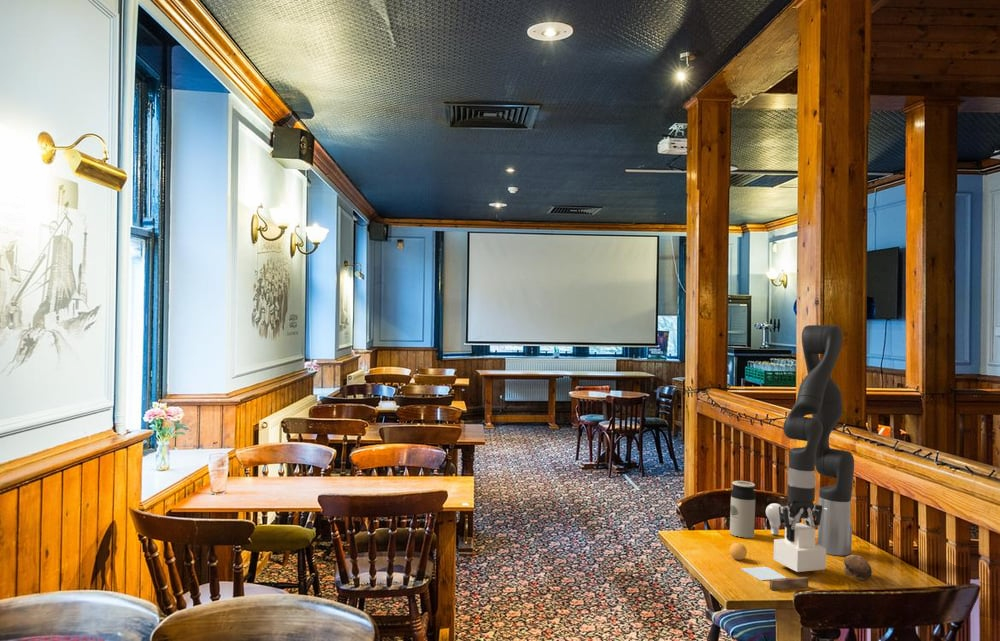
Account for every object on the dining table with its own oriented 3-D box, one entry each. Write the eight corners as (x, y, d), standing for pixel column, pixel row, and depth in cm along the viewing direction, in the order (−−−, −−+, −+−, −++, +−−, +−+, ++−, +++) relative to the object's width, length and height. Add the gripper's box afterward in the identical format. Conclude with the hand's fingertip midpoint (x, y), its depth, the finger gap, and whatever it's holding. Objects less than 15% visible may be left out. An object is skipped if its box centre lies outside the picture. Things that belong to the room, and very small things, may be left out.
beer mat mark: (766, 567, 197) (766, 566, 197) (787, 578, 189) (787, 577, 189) (740, 569, 195) (740, 568, 195) (760, 580, 186) (760, 580, 186)
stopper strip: (805, 585, 184) (805, 576, 184) (808, 587, 183) (808, 578, 183) (769, 588, 181) (769, 579, 181) (772, 590, 180) (772, 581, 180)
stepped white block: (800, 557, 202) (801, 520, 202) (825, 569, 192) (826, 530, 192) (773, 559, 199) (774, 522, 199) (797, 572, 189) (798, 532, 189)
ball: (739, 556, 206) (740, 540, 207) (749, 561, 202) (750, 545, 202) (725, 557, 205) (726, 540, 205) (736, 562, 200) (736, 546, 200)
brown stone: (833, 558, 198) (847, 546, 195) (856, 569, 198) (870, 556, 195) (842, 580, 191) (856, 567, 188) (865, 591, 191) (880, 578, 188)
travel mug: (748, 531, 232) (750, 480, 233) (757, 539, 224) (759, 486, 225) (726, 531, 232) (728, 480, 232) (734, 538, 224) (736, 485, 224)
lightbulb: (786, 538, 226) (787, 506, 226) (766, 536, 227) (768, 505, 227) (782, 533, 232) (783, 502, 232) (763, 531, 234) (764, 500, 234)
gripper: (811, 479, 201) (810, 534, 201) (772, 481, 197) (770, 537, 197) (830, 485, 194) (829, 542, 194) (790, 488, 190) (788, 546, 190)
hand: (799, 540), depth 195 cm, fingers closed on stepped white block, 5 cm apart
